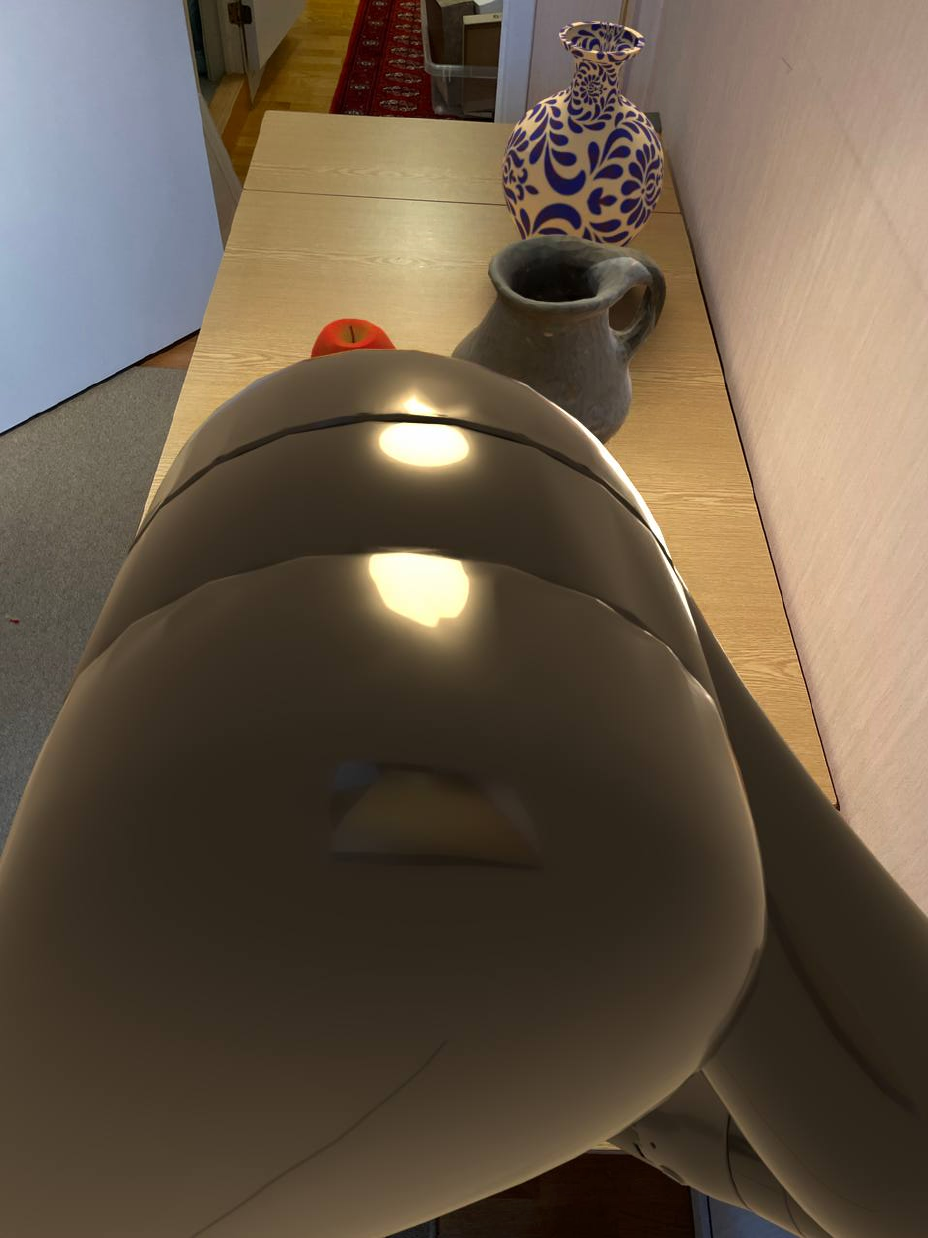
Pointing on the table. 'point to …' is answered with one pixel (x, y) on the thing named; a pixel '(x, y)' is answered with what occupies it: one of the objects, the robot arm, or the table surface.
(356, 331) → the apple
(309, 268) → the table surface
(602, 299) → the pitcher
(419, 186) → the table surface
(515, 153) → the vase
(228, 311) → the table surface
